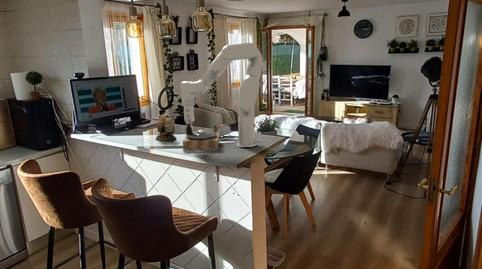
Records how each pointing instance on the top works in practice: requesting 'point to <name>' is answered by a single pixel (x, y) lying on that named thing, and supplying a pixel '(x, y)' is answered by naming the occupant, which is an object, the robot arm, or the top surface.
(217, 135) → the wheel block
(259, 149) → the top surface
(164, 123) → the owl figurine
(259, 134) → the top surface
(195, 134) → the pot lid
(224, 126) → the tin
